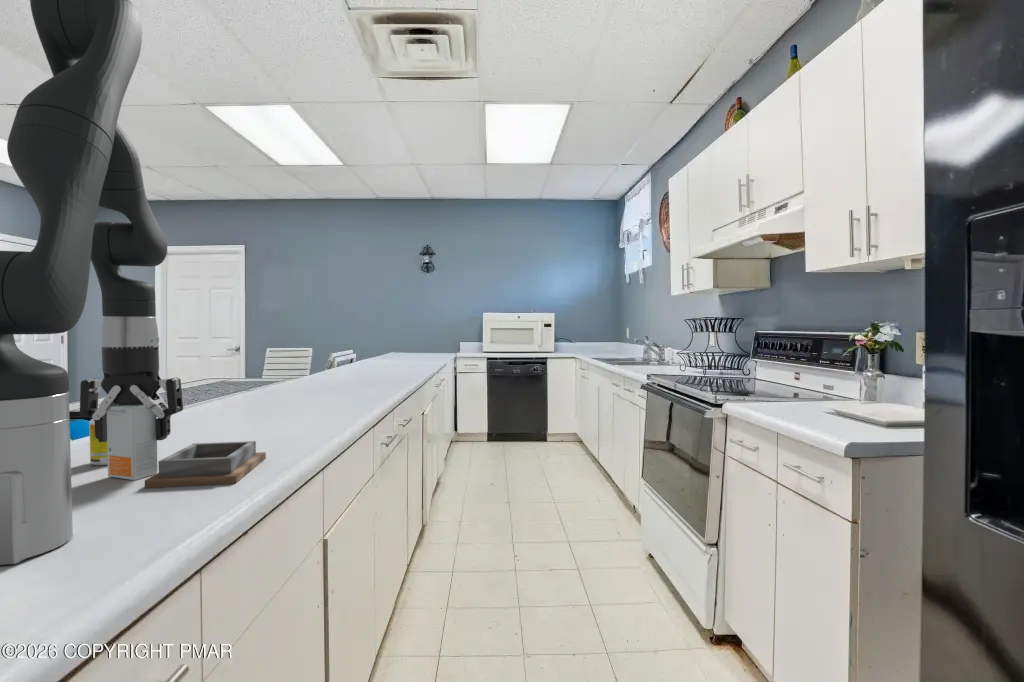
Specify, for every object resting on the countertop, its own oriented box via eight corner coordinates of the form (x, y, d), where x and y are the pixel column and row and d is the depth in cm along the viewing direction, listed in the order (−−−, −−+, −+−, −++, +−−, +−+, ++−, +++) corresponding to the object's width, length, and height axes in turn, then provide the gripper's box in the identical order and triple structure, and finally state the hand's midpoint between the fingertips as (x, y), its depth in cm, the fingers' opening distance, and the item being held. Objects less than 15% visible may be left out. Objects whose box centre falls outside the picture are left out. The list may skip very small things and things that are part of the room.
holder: (235, 483, 78) (235, 460, 78) (144, 488, 76) (144, 464, 76) (265, 458, 93) (265, 439, 93) (190, 461, 91) (189, 441, 91)
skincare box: (106, 477, 81) (104, 405, 81) (133, 470, 85) (131, 401, 85) (133, 481, 79) (131, 407, 79) (159, 473, 83) (157, 403, 83)
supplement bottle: (130, 462, 90) (128, 407, 90) (90, 468, 87) (88, 410, 86) (128, 456, 94) (127, 403, 94) (90, 461, 91) (89, 406, 91)
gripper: (65, 345, 77) (69, 448, 78) (166, 345, 79) (169, 444, 80) (97, 343, 84) (100, 436, 85) (188, 342, 87) (190, 433, 87)
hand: (133, 440), depth 82 cm, fingers open, 8 cm apart
